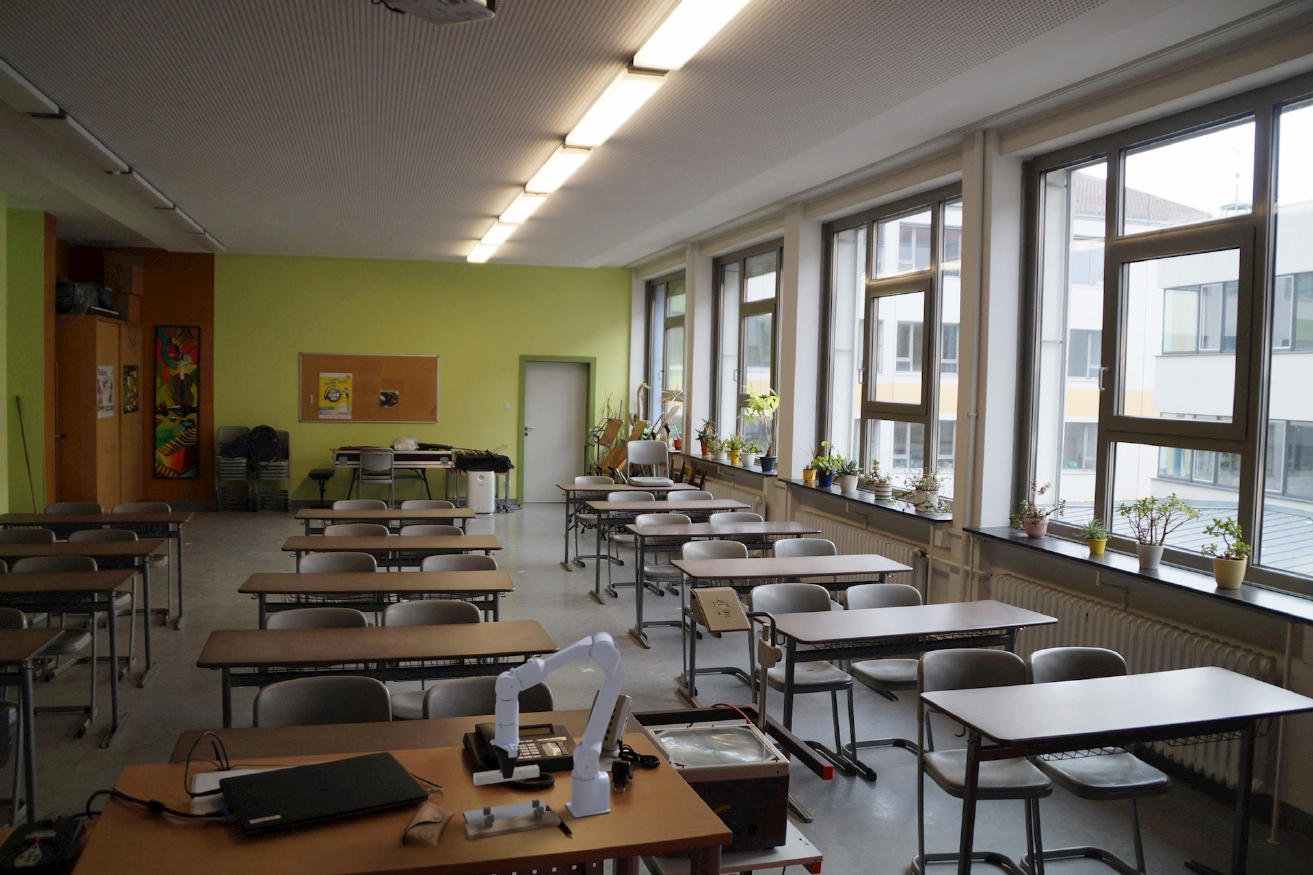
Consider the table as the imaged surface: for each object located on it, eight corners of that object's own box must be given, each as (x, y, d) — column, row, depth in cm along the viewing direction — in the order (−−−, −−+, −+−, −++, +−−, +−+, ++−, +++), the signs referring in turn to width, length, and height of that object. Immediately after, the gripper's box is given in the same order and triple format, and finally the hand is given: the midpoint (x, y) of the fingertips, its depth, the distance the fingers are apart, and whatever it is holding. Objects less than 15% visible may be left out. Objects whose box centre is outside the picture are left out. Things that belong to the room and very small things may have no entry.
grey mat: (542, 801, 230) (542, 799, 230) (549, 812, 224) (549, 811, 224) (463, 812, 223) (463, 811, 223) (468, 825, 217) (468, 823, 217)
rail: (536, 773, 227) (537, 764, 227) (539, 776, 225) (539, 768, 225) (473, 782, 221) (473, 773, 221) (475, 785, 219) (475, 776, 219)
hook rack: (554, 814, 223) (554, 796, 223) (560, 824, 217) (561, 806, 217) (465, 828, 215) (465, 809, 215) (469, 839, 209) (469, 820, 209)
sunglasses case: (438, 846, 206) (424, 821, 205) (412, 861, 206) (397, 836, 206) (456, 811, 224) (443, 788, 223) (432, 825, 224) (418, 802, 224)
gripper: (485, 714, 228) (484, 767, 228) (496, 733, 215) (496, 789, 215) (512, 711, 231) (512, 763, 231) (525, 730, 217) (525, 785, 218)
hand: (506, 776), depth 223 cm, fingers closed on rail, 2 cm apart
